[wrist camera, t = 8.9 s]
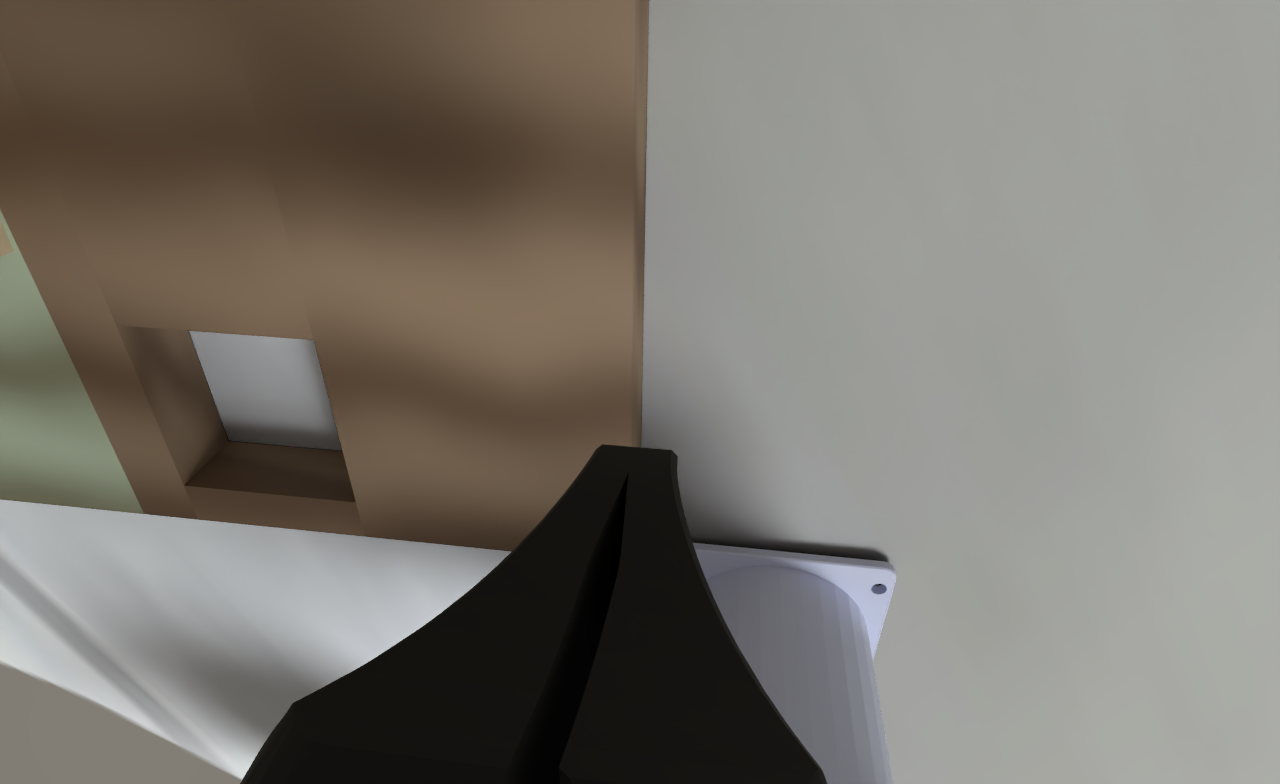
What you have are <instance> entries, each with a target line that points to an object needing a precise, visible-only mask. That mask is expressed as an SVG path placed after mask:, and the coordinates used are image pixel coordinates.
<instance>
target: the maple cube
mask: <svg viewBox="0 0 1280 784" xmlns="http://www.w3.org/2000/svg"><path fill="white" fill-rule="evenodd" d="M13 251H14V249H13V246H12V244H11V242H10V240H9V238H8V236H7V233H6V231H5V229H4V227H3V225H2V222H1V220H0V257H2V256H4V255H6V254H9V253H11V252H13Z"/></svg>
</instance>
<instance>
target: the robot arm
mask: <svg viewBox="0 0 1280 784" xmlns="http://www.w3.org/2000/svg"><path fill="white" fill-rule="evenodd" d="M677 460H678V456H677V455H676V454H675V453H674V452H673V451H672V450H663V449H651V448H640V447H628V446H617V445H605V444H602V445H601V446H599V447H598V448H597V449H596V450H595V451H594V453H593V455H592V456H591V458H590V459H589V461H588V462H587V464H586V465H585V466H584V468H583V469H582V471H581V472H580V473H579V475H578V476H577V477H576V479H575V480H574V481H573V483H572V484H571V485H570V487H569V488H568V489H567V490H566V492H565V493H564V494H563V495H562V497H561V498H560V499H559V500H558V501H557V503H556V504H555V505H554V506H553V507H552V509H551V510H550V511H549V512H548V513H547V515H546V516H545V517H544V518H543V519H542V520H541V521H540V523H539V524H538V525H537V526H536V527H535V528H534V529H533V530H532V531H531V532H530V533H529V534H528V535H527V536H526V537H525V539H524V540H523V541H522V542H521V543H520V544H519V545H518V546H517V547H516V548H515V549H514V550H513V551H512V552H511V553H510V554H509V555H508V556H507V557H506V558H505V559H504V560H503V561H502V562H501V563H500V564H499V565H498V566H497V567H496V568H494V569H493V570H492V571H491V572H490V573H489V574H488V575H487V576H486V577H484V578H483V579H482V580H481V581H480V582H479V583H478V584H476V585H475V586H474V587H473V588H472V589H471V590H469V591H468V592H467V593H466V594H464V595H463V596H462V597H461V598H459V599H458V600H457V601H456V602H454V603H453V604H452V605H451V606H449V607H448V608H447V609H446V610H444V611H443V612H442V613H441V614H439V615H438V616H436V617H435V618H434V619H432V620H431V621H430V622H428V623H427V624H426V625H424V626H423V627H421V628H420V629H419V630H417V631H416V632H414V633H413V634H411V635H409V636H408V637H406V638H405V639H403V640H402V641H400V642H399V643H397V644H396V645H394V646H393V647H391V648H390V649H388V650H387V651H385V652H384V653H382V654H381V655H379V656H378V657H376V658H374V659H373V660H371V661H370V662H368V663H366V664H365V665H363V666H361V667H359V668H358V669H356V670H354V671H352V672H351V673H349V674H347V675H345V676H343V677H341V678H339V679H338V680H336V681H334V682H332V683H330V684H328V685H326V686H325V687H323V688H321V689H319V690H317V691H315V692H314V693H312V694H310V695H308V696H306V697H304V698H302V699H300V700H298V701H296V702H294V703H293V704H292V705H291V707H290V708H289V710H288V711H287V713H286V714H285V716H284V717H283V718H282V720H281V721H280V722H279V724H278V725H277V726H276V727H275V729H274V730H273V731H272V733H271V734H270V736H269V737H268V739H267V740H266V742H265V743H264V745H263V746H262V748H261V749H260V751H259V753H258V754H257V756H256V758H255V760H254V761H253V763H252V765H251V766H250V768H249V770H248V771H247V773H246V775H245V777H244V778H243V780H242V782H241V783H240V784H893V778H892V772H891V766H890V761H889V755H888V749H887V743H886V737H885V731H884V725H883V719H882V713H881V707H880V701H879V695H878V689H877V683H876V677H875V671H874V665H873V659H874V655H875V652H876V648H877V645H878V641H879V638H880V634H881V631H882V627H883V624H884V620H885V617H886V614H887V610H888V607H889V603H890V600H891V596H892V593H893V589H894V586H895V582H896V572H895V568H894V567H893V565H891V564H890V563H888V562H884V561H875V560H865V559H855V558H844V557H834V556H824V555H814V554H804V553H794V552H783V551H773V550H763V549H753V548H743V547H733V546H722V545H712V544H702V543H693V542H692V539H691V536H690V532H689V529H688V525H687V522H686V518H685V515H684V511H683V507H682V502H681V497H680V492H679V486H678V478H677ZM875 584H882V585H880V586H875Z"/></svg>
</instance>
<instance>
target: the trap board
mask: <svg viewBox="0 0 1280 784" xmlns="http://www.w3.org/2000/svg"><path fill="white" fill-rule="evenodd" d="M648 23H649V0H0V220H1V222H2V225H3V227H4V229H5V231H6V233H7V236H8V238H9V240H10V242H11V244H12V246H13V249H14V251H13V252H11V253H9V254H6V255H4V256H2V257H0V499H3V500H13V501H23V502H33V503H42V504H52V505H62V506H72V507H82V508H91V509H101V510H111V511H121V512H131V513H140V514H150V515H160V516H170V517H180V518H189V519H199V520H209V521H219V522H229V523H239V524H248V525H258V526H268V527H278V528H288V529H297V530H307V531H317V532H327V533H337V534H346V535H356V536H366V537H376V538H386V539H395V540H405V541H415V542H425V543H435V544H444V545H454V546H464V547H474V548H484V549H494V550H503V551H513V550H514V549H515V548H516V547H517V546H518V545H519V544H520V543H521V542H522V541H523V540H524V539H525V537H526V536H527V535H528V534H529V533H530V532H531V531H532V530H533V529H534V528H535V527H536V526H537V525H538V524H539V523H540V521H541V520H542V519H543V518H544V517H545V516H546V515H547V513H548V512H549V511H550V510H551V509H552V507H553V506H554V505H555V504H556V503H557V501H558V500H559V499H560V498H561V497H562V495H563V494H564V493H565V492H566V490H567V489H568V488H569V487H570V485H571V484H572V483H573V481H574V480H575V479H576V477H577V476H578V475H579V473H580V472H581V471H582V469H583V468H584V466H585V465H586V464H587V462H588V461H589V459H590V458H591V456H592V455H593V453H594V451H595V450H596V449H597V448H598V447H599V446H601V445H602V444H605V445H617V446H628V447H640V448H641V429H642V371H643V313H644V255H645V197H646V139H647V81H648ZM189 331H201V332H214V333H227V334H241V335H254V336H267V337H281V338H294V339H307V340H314V343H315V347H316V351H317V355H318V359H319V363H320V366H321V370H322V374H323V378H324V382H325V386H326V389H327V393H328V397H329V401H330V405H331V409H332V412H333V416H334V420H335V424H336V428H337V432H338V435H339V439H340V443H341V447H342V451H332V450H321V449H310V448H298V447H287V446H276V445H265V444H254V443H243V442H232V441H228V439H227V436H226V433H225V430H224V428H223V425H222V422H221V419H220V417H219V414H218V411H217V408H216V406H215V403H214V400H213V397H212V395H211V392H210V389H209V386H208V384H207V381H206V378H205V375H204V372H203V370H202V367H201V364H200V361H199V359H198V356H197V353H196V350H195V348H194V345H193V342H192V339H191V337H190V334H189Z"/></svg>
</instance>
